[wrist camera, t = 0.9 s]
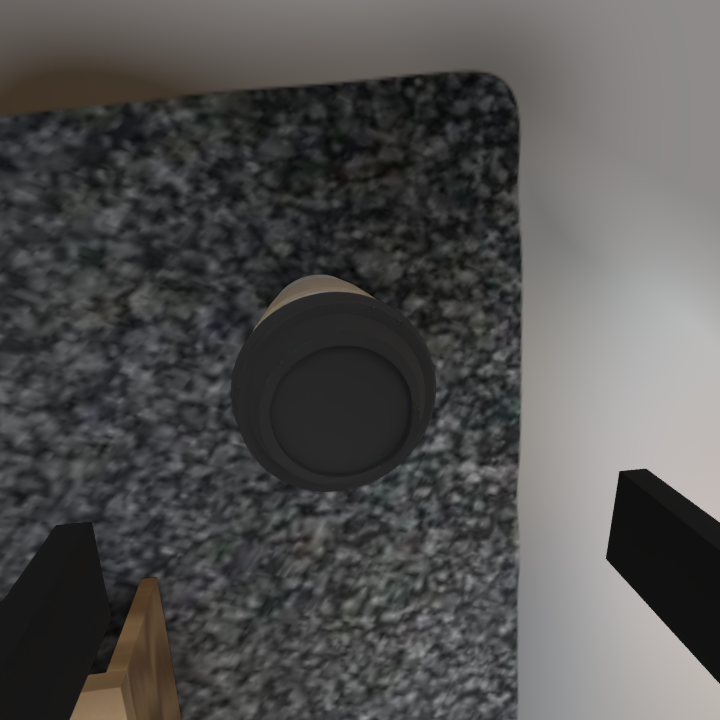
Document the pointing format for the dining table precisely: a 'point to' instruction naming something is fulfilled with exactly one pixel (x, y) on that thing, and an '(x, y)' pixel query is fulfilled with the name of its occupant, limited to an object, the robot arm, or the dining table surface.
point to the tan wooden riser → (135, 668)
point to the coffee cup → (332, 386)
